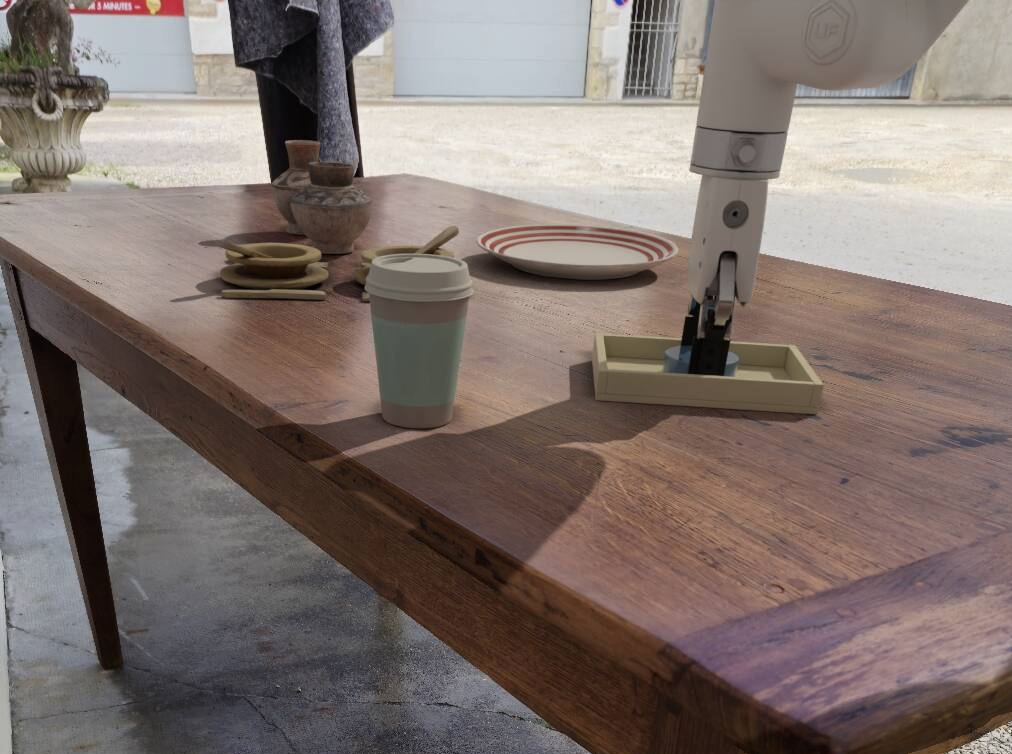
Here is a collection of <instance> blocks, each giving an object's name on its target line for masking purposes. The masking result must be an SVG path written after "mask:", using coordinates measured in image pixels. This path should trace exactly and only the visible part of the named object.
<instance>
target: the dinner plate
mask: <svg viewBox="0 0 1012 754" xmlns="http://www.w3.org/2000/svg"><path fill="white" fill-rule="evenodd" d="M476 244H477V246H478V247H479V248H480V249H482V250H483V251H486V252H487V253H489V255H492V256H494V257H495V258H497V259H499V260H501V261H503V262H505V263H507V264H510V265H511V266H512V267H513V268H515V269H517V270H519V271H522V272H526V273H529V274H533V275H537V276H543V277H550V278H555V279H556V278H557V279H567V280H581V281H582V280H583V281H584V280H586V281H587V280H588V281H589V280H591V281H594V280H595V281H597V280H599V281H601V280H614V279H622V278H628V277H631V276H634V275H637V274H638V273H640V272H644V271H647V270H650V269H653V268H656V267H658V266H660V265H663V264H664V263H667V262H669V261H670V260H672V259H673V258H674V257H676V256H677V255H678V253H679V248H678V246H677V244H675V242H673V241H671V240H669V239H668V238H665V237H662V236H659V235H656V234H652V233H648V232H644V231H639V230H634V229H626V228H620V227H613V226H602V225H589V224H571V223H570V224H569V223H537V224H522V225H513V226H505V227H500V228H495V229H492V230H488V231H485V232H484V233H481V234H479V236H478V237H477V238H476Z"/></svg>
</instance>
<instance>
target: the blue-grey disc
mask: <svg viewBox="0 0 1012 754" xmlns="http://www.w3.org/2000/svg"><path fill="white" fill-rule="evenodd" d="M691 349H692V345H687V346H676V347H671V348H669V349H667V350H666V351H665V355H664V362H663V369H662V372H663V373H679V374H687V373H688V367H689V361H690V355H691ZM738 362H739V357H738V356H737V355H736V354H734V353H732V352H729V351H728V357H727V362H726V367H725V373H724V376H727V377H736V372H737V367H738Z"/></svg>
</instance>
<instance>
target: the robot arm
mask: <svg viewBox="0 0 1012 754" xmlns="http://www.w3.org/2000/svg"><path fill="white" fill-rule="evenodd" d="M969 2H970V0H714V4H713V10H712V11H713V12H712V17H711V24H710V30H709V37H708V43H707V51H706V57H705V63H704V71H703V75H702V76H703V77H702V82H701V83H702V84H701V90H700V97H699V103H698V111H697V118H696V123H695V125H696V126H695V129H694V135H693V136H694V137H693V143H692V149H691V155H690V161H689V162H690V163H689V172H690V173H692V174H696V175H701V178H700V183H699V189H698V196H697V201H696V207H695V214H694V220H693V226H692V233H691V239H690V246H689V256H688V262H687V270H686V271H687V272H686V283H687V287H688V289H689V291H690V296H689V300H688V305H687V311H686V312H687V313H686V314H687V315H685V316H684V322H683V328H682V335H681V338H682V340H681V346H687V345H692V349H691V355H690V361H689V367H688V373H687V374H695V375H711V376H724V373H725V367H726V362H727V357H728V351H729V346H730V341H731V340H732V339H731V336H732V328H733V320H734V319H733V318H734V309H735V300H737V302H738V304H739V305H740V306H741V307H742V308H746V307H748V306H749V305H750V304H751V303H752V301H753V296H754V291H755V284H756V278H757V271H758V266H759V259H760V253H761V246H762V240H763V233H764V226H765V219H766V212H767V201H768V192H769V180H774V179H775V180H776V179H778V178H780V176H781V175H780V174H781V170H782V165H783V159H784V154H785V151H786V145H787V139H788V134H789V132H788V131H789V130H790V129H789V128H790V123H791V118H792V114H793V108H794V103H795V99H796V93H797V88H798V85H801V86H805V87H808V88H813V89H816V90H822V91H832V92H834V91H835V92H836V91H837V92H840V91H850V90H851V91H852V90H856V89H872V88H878V87H879V88H880V87H883V86H886V85H888V84H890V83H892V82H894V81H896V80H898V79H900V77H902V76H903V75H904V74H906V73H907V72H909V70H911V69H913V67H914V66H915V65H916V64H917V63H918V62H919V61H920V60H922V58H923V57H924V56H925V55H926V54H927V52H928V51H929V50H930V49H931V47H932V46H933V45H934V44H935V43H936V41H937V40H938V39H939V38H940V37H941V35H942V34H943V33H944V32H945V31H946V29H947V28H948V27H949V26H950V25H951V23H952V22H953V21H954V19H955V18H956V17H957V16H958V15H959V13H961V11H962V10H963V9H964V8H965V7H966V5H967V4H968V3H969Z"/></svg>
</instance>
